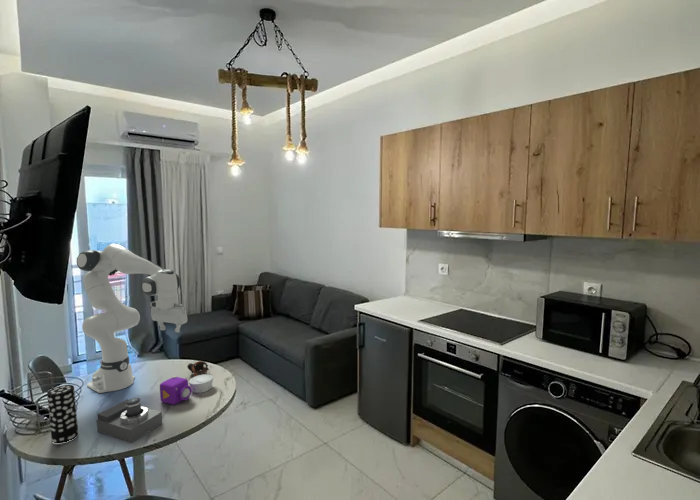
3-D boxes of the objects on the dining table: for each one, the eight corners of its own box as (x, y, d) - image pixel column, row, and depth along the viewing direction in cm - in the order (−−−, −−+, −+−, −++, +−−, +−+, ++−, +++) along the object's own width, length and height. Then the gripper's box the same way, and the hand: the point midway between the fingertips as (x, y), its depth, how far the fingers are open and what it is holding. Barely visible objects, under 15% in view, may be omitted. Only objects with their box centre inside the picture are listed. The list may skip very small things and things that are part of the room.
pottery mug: (211, 370, 210) (211, 361, 205) (203, 384, 202) (203, 375, 197) (191, 365, 210) (190, 356, 205) (182, 379, 202) (181, 369, 197)
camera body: (97, 431, 151) (96, 413, 151) (129, 413, 164) (128, 397, 163) (131, 442, 144) (130, 423, 143) (162, 423, 156) (161, 406, 156)
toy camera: (183, 407, 169) (182, 386, 168) (157, 404, 172) (155, 384, 171) (197, 396, 180) (196, 376, 179) (172, 393, 183) (171, 374, 182)
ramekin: (185, 394, 181) (185, 384, 181) (195, 384, 193) (194, 374, 192) (208, 394, 181) (208, 383, 181) (216, 383, 193) (216, 374, 192)
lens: (124, 418, 151) (122, 402, 150) (136, 412, 156) (134, 396, 155) (132, 421, 149) (131, 404, 148) (144, 415, 153) (142, 398, 153)
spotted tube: (48, 447, 141) (43, 396, 139) (55, 435, 149) (51, 387, 147) (75, 441, 145) (70, 392, 143) (80, 430, 152) (76, 383, 150)
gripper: (189, 303, 178) (191, 331, 179) (158, 300, 186) (160, 327, 187) (179, 306, 172) (180, 335, 173) (147, 302, 180) (149, 330, 181)
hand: (170, 331), depth 180 cm, fingers open, 8 cm apart
